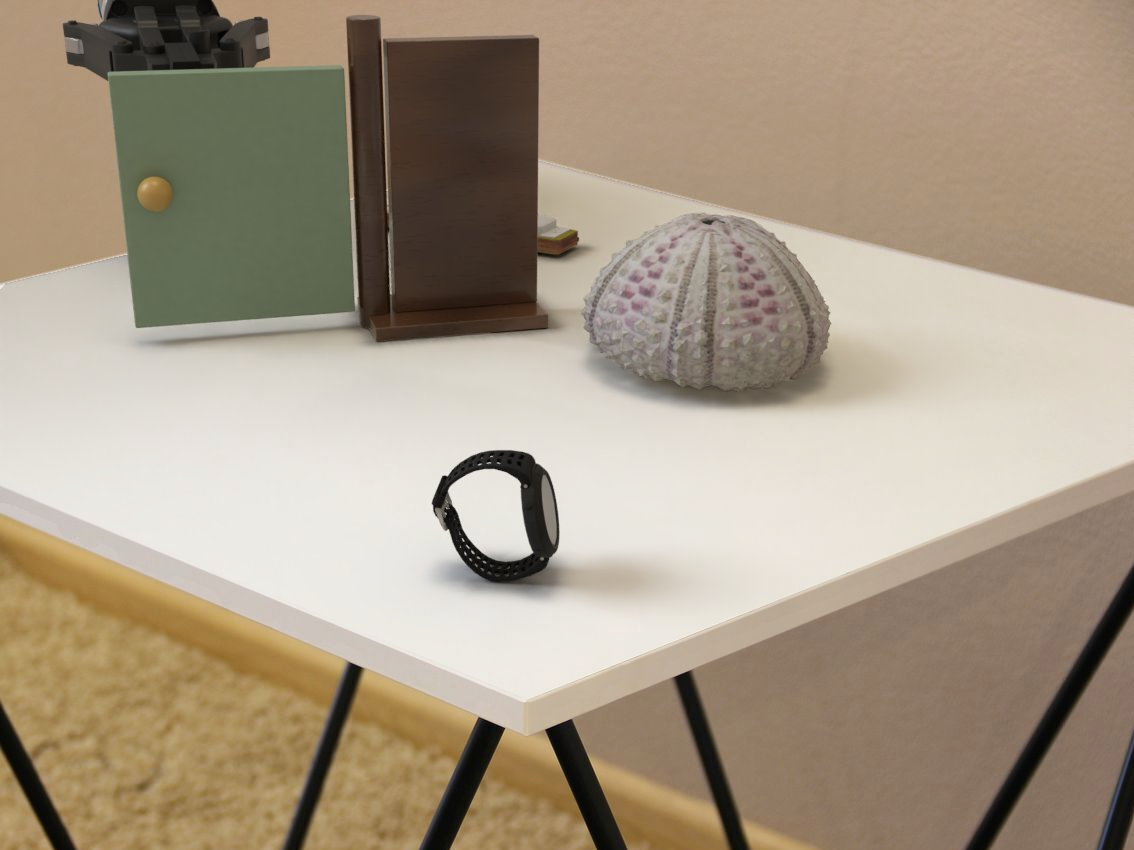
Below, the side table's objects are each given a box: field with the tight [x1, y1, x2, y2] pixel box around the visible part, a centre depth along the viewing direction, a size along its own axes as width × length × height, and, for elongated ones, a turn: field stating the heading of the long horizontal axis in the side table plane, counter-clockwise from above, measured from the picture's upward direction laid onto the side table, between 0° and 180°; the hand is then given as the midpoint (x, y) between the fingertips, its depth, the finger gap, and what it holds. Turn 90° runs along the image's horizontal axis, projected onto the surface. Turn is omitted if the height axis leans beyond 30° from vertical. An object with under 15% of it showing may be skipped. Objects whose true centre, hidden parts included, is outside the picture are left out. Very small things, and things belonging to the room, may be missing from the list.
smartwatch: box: [431, 449, 560, 583], centre depth 60 cm, size 4×5×5 cm
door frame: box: [345, 14, 549, 342], centre depth 85 cm, size 10×6×17 cm, turn 108°
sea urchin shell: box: [580, 212, 832, 393], centre depth 81 cm, size 13×14×8 cm
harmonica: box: [387, 204, 580, 255], centre depth 104 cm, size 15×3×2 cm, turn 64°
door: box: [107, 64, 356, 329], centre depth 81 cm, size 12×3×14 cm, turn 108°
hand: (188, 86), depth 83 cm, fingers closed
